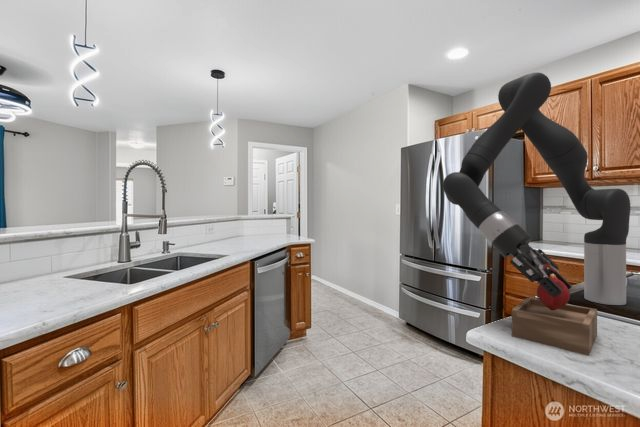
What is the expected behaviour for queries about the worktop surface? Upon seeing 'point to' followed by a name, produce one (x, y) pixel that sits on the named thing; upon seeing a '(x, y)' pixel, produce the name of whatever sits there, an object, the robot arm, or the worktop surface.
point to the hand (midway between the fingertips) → (563, 291)
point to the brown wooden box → (556, 325)
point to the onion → (556, 301)
